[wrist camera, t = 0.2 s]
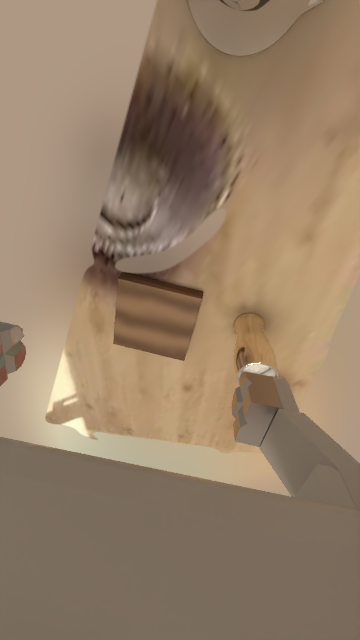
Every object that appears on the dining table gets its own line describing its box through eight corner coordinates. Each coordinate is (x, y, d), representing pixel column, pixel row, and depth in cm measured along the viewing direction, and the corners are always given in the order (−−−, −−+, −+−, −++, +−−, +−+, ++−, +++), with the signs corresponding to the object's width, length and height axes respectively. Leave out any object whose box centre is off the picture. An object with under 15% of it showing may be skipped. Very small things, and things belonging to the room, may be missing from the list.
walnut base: (123, 272, 51) (118, 278, 49) (203, 291, 51) (202, 299, 49) (117, 335, 60) (113, 343, 58) (185, 352, 60) (184, 360, 58)
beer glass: (227, 335, 56) (230, 388, 44) (236, 307, 52) (242, 357, 40) (259, 341, 56) (271, 397, 44) (271, 314, 52) (287, 367, 40)
